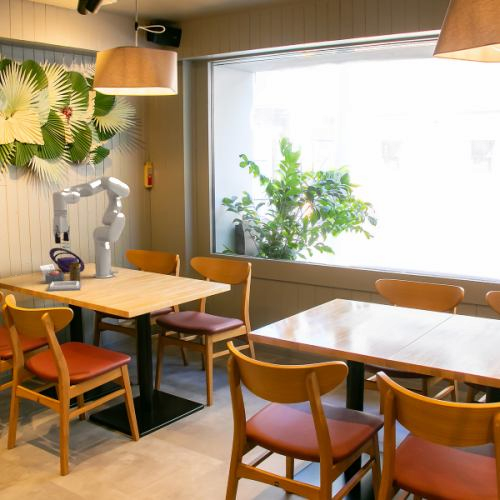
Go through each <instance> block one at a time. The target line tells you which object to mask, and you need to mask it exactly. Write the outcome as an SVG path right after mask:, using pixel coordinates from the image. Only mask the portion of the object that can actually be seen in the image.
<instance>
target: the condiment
mask: <svg viewBox="0 0 500 500" xmlns="http://www.w3.org/2000/svg"><path fill="white" fill-rule="evenodd" d="M69 281H79V283H82V284H84V281H83V280H82V281H81V272H80V264H79V261H78V262H71V263H70V272H69Z"/></svg>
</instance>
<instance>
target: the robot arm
mask: <svg viewBox="0 0 500 500" xmlns="http://www.w3.org/2000/svg"><path fill="white" fill-rule="evenodd" d="M103 191H106V196H107V199H108V205H107V207H106V209H105V211H104V213H103V215H102V218H101V224H102V225H103V226H101V225H100V226H97V227H95V228H94V230H93V232H92V239H93V242H94V243H93V244H94V262H95V264H94V265H95V267H94V268H95V273H94V274H93V276H92V277H93V278H97V279H107V278H112V277H114V274H119V270H118V269H117V270H116V269H115V270H114V269H112V259H111V257H112V254H111V253H112V252H111V245H110V243H111V244H114V243H116V242H117V241H118V240H119V238H120V236H121V235H122V233H123V230H124V227H125V225H126V221H127V220H126V216H125V214H124V213H122V212H121V211H122V207H123V204H122V201H121V199H126V198H128V197H129V196H130V193H131V190H130V187H129V186H128V185H127V184H126V183H125V182H122V181H121V180H119V179H117V178H115V177H114V176H106V175H105V176H104V175H103V176H99V177H96V178H94V179H92V180H89V181H86V182H83V183H80V184H76V185H73V186H69V187H66V188H64V189H62V190H60V191H55V192H53V193H52V205H53V208H52V209H53V219H52V221H53V223H52V224H53V225H52V233H53V237H54V244H58V245H59V244H62V242H61V240H62V239H63V240H64V241H63V240H62V241H63V242H70V240H69V238H70V237H69V235H70V225H69V219H68V205H67V204H69V205H71V204H78V203H79V202H80V200H81V198H87V197H92V196H94V195H96V194H98V193H101V192H103ZM61 234H62V237H63V238H62V239H61Z"/></svg>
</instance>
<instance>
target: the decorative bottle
mask: <svg viewBox="0 0 500 500" xmlns="http://www.w3.org/2000/svg"><path fill="white" fill-rule="evenodd" d="M61 240H62V242H61V244H62V245H63V246H62V248H61V247H53V248H51V249H50V250H49V252H48V253H49V257H50V259H51V260H52V261H53V262H54V264H56V266H57V267H58V269H59V270H60V271H61V272H64V273H70V263H71V262H79V266H80V273H82V272H83V271H84V270H85V263H84V262H83V259H81V258H80V257H79V256H78V255H77V254H76V253H74V252H73V251H70V250H68V249H70V248H71V242H70V240H71V238H70V237H69V241H64V240H63V238H62V239H61ZM55 252H58V253H56V254H55ZM64 254H66V255H72V257H71V256H69V257H68V256H65V257H59V258H57V257H58V256H60V255H64Z"/></svg>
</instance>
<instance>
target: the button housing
mask: <svg viewBox="0 0 500 500" xmlns="http://www.w3.org/2000/svg"><path fill="white" fill-rule="evenodd" d="M44 276H45V277H44V279H45V281H44V282H45V283H44V284H45V285H50V284H51V283H52V282H62V281H65V272H62V271H61V272H60V271H59V275H50V272H47V273H45V275H44Z"/></svg>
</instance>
